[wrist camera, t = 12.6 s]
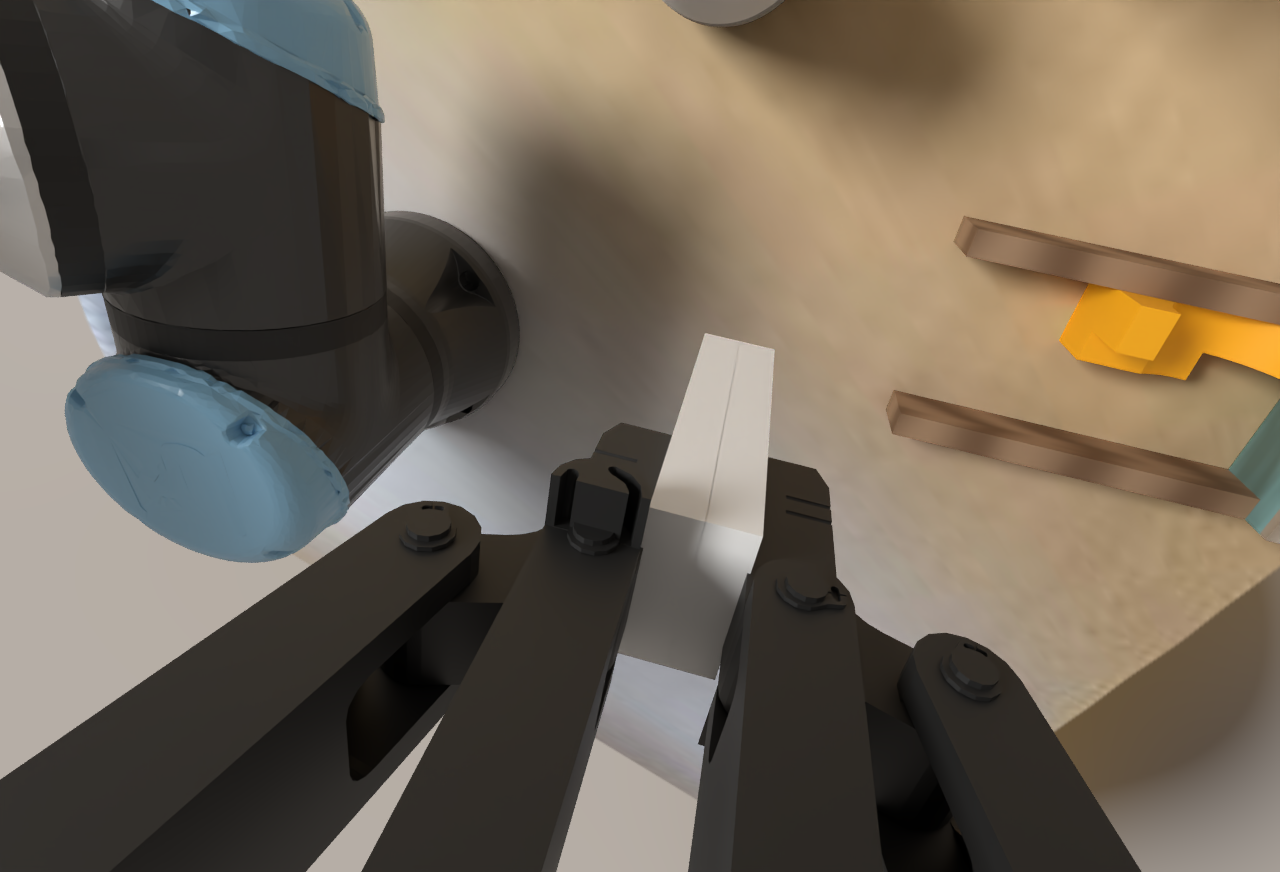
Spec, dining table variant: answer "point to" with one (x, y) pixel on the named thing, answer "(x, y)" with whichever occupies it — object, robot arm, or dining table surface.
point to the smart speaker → (723, 10)
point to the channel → (1250, 489)
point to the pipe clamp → (1164, 335)
